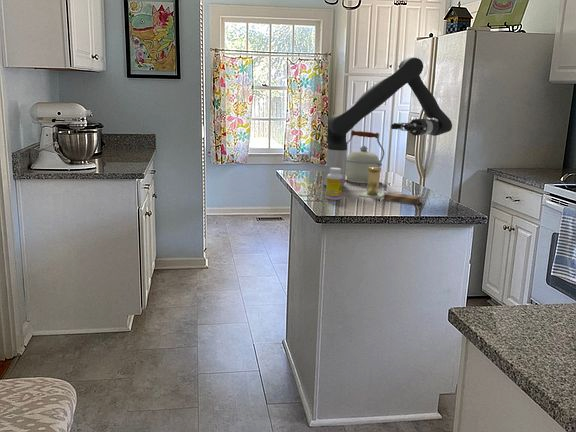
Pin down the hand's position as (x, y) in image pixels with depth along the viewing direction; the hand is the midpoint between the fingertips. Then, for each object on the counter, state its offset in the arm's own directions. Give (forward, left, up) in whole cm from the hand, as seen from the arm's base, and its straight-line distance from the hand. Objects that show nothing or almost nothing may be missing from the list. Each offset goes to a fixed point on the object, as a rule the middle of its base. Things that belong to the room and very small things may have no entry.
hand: (399, 127), depth 245 cm
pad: (-7, -9, -30) cm, 32 cm away
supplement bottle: (-19, -26, -30) cm, 44 cm away
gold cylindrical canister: (-7, -9, -29) cm, 32 cm away
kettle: (-24, +26, -30) cm, 47 cm away
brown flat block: (+7, -12, -30) cm, 33 cm away
